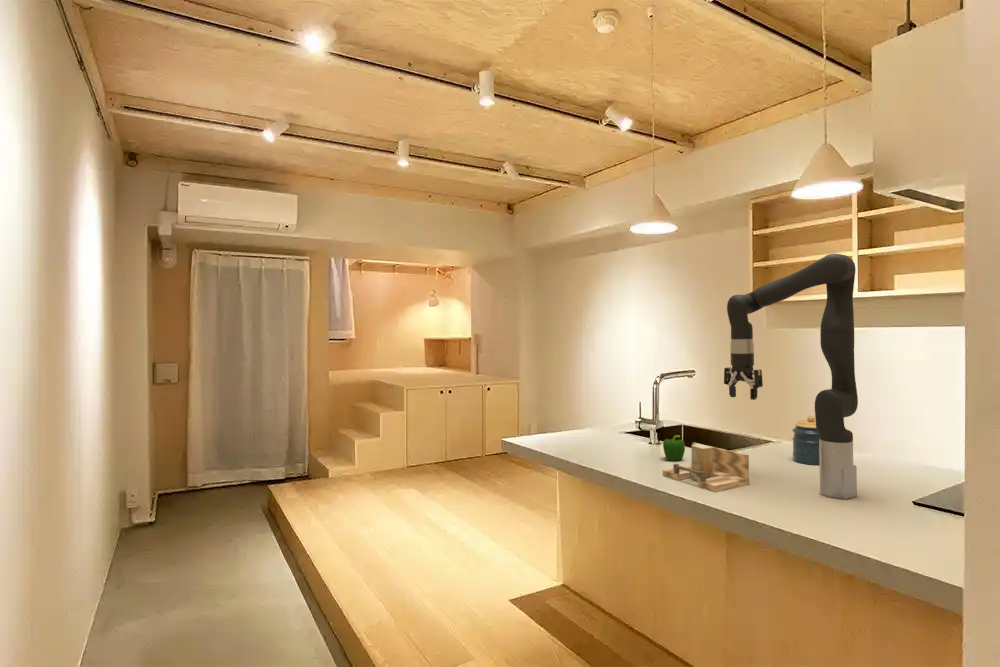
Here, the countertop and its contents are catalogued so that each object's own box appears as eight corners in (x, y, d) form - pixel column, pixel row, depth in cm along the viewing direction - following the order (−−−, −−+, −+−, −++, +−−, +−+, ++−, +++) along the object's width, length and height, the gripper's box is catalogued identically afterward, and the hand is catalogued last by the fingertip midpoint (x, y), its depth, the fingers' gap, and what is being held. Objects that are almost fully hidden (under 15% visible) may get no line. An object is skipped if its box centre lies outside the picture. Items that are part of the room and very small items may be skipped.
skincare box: (690, 479, 204) (690, 444, 204) (700, 477, 206) (700, 443, 205) (703, 484, 198) (703, 448, 198) (713, 482, 200) (713, 446, 200)
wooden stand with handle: (749, 484, 196) (748, 454, 196) (715, 492, 189) (714, 461, 188) (695, 469, 217) (694, 442, 217) (662, 475, 210) (662, 448, 210)
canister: (797, 464, 219) (796, 418, 219) (789, 456, 232) (788, 412, 231) (835, 466, 216) (835, 418, 216) (825, 457, 229) (824, 413, 228)
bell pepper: (658, 460, 233) (658, 435, 233) (670, 456, 238) (669, 432, 238) (677, 463, 227) (676, 438, 226) (688, 459, 232) (688, 434, 232)
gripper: (767, 352, 198) (768, 399, 198) (732, 350, 211) (733, 395, 211) (752, 353, 195) (753, 401, 195) (718, 351, 207) (719, 397, 208)
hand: (743, 398), depth 203 cm, fingers open, 8 cm apart
